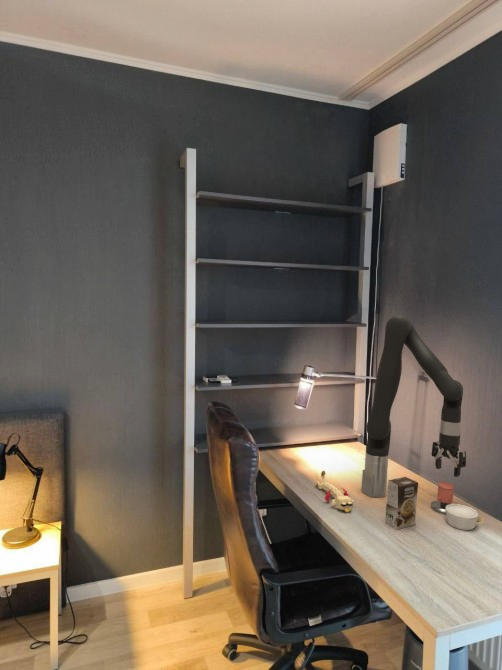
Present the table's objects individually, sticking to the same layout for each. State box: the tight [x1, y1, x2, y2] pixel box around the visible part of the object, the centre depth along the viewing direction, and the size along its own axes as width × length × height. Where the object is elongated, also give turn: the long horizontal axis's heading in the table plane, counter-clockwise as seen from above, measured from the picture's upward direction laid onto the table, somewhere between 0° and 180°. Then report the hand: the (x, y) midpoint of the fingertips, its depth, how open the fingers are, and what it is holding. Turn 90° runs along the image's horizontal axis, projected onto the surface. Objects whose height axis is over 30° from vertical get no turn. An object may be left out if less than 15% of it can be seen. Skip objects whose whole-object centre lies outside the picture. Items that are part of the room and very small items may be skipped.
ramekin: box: [445, 503, 479, 531], centre depth 171 cm, size 11×11×5 cm
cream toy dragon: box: [314, 470, 355, 513], centre depth 187 cm, size 10×9×25 cm
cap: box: [436, 481, 455, 504], centre depth 182 cm, size 8×6×6 cm
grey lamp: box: [430, 500, 453, 515], centre depth 182 cm, size 10×10×9 cm
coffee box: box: [384, 476, 419, 530], centre depth 169 cm, size 9×6×16 cm
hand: (447, 472), depth 181 cm, fingers open, 8 cm apart
